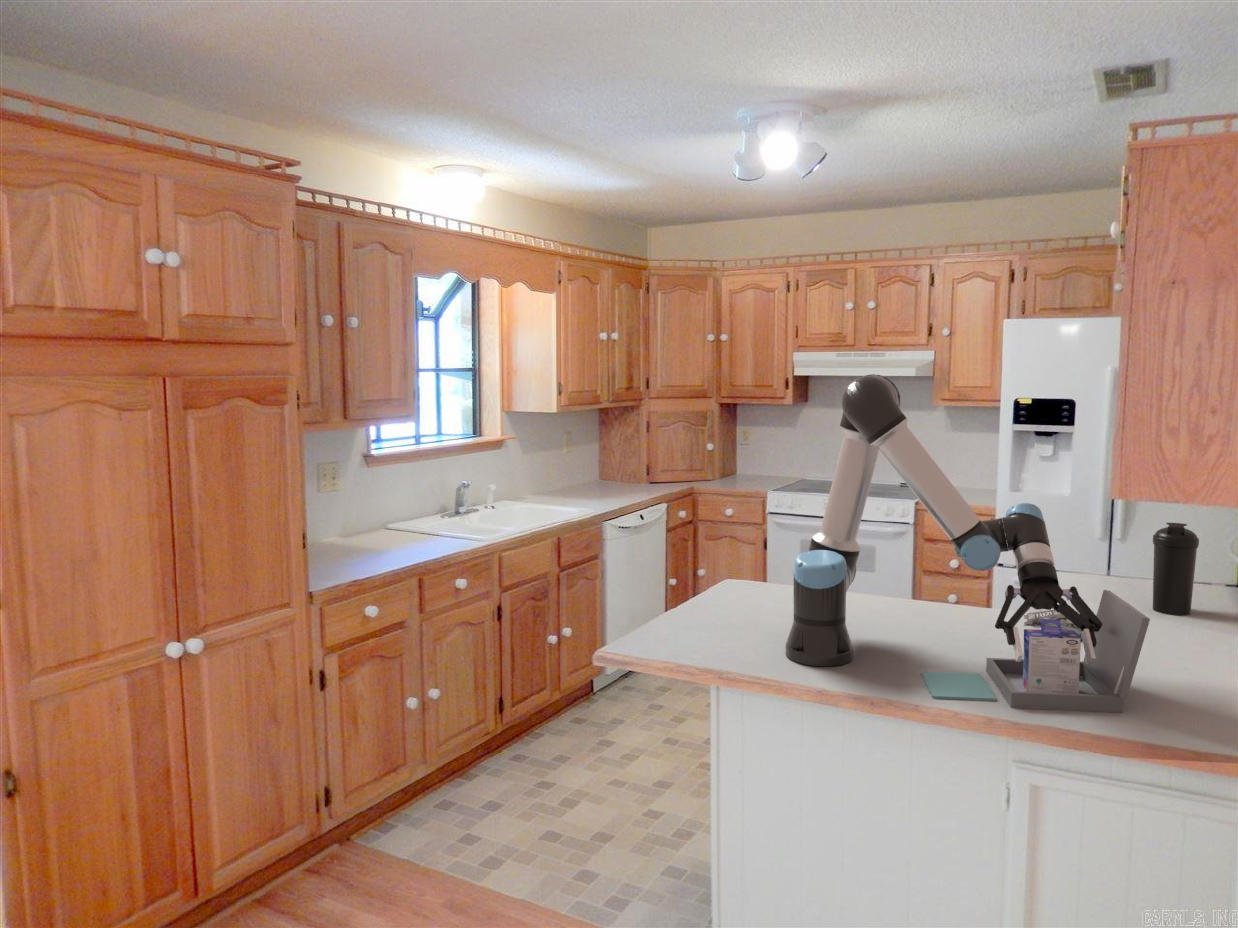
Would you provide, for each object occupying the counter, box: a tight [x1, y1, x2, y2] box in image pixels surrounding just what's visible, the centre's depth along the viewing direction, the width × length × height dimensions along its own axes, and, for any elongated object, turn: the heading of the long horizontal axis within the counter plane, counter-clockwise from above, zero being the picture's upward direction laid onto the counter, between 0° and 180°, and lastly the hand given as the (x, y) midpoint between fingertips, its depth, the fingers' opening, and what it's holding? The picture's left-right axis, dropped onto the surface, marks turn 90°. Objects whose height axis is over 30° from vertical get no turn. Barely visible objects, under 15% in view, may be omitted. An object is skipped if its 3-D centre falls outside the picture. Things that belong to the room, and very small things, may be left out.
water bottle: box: [1152, 522, 1200, 616], centre depth 231 cm, size 10×10×23 cm
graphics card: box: [1023, 609, 1083, 639], centre depth 217 cm, size 17×4×12 cm
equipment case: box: [985, 589, 1151, 714], centre depth 178 cm, size 24×20×19 cm
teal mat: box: [920, 670, 997, 702], centre depth 183 cm, size 12×14×1 cm
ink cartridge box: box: [1022, 619, 1082, 694], centre depth 179 cm, size 10×6×14 cm, turn 78°
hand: (1055, 660), depth 177 cm, fingers open, 13 cm apart
